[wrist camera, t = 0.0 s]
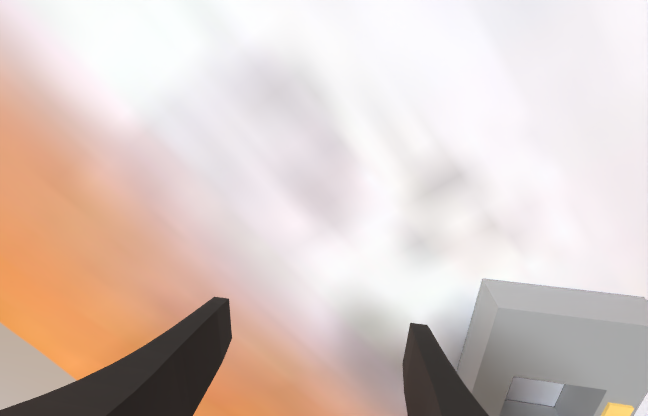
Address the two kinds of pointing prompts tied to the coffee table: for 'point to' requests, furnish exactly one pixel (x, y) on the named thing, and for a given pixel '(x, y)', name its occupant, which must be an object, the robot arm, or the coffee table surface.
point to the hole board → (557, 349)
